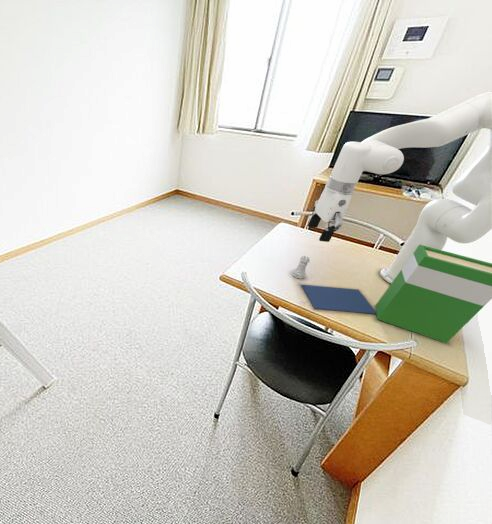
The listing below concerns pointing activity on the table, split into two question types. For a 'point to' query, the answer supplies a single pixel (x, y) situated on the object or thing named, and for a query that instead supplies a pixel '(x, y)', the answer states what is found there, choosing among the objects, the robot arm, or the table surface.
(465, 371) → the table surface
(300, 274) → the rook chess piece
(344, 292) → the cloth
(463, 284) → the hardback book
